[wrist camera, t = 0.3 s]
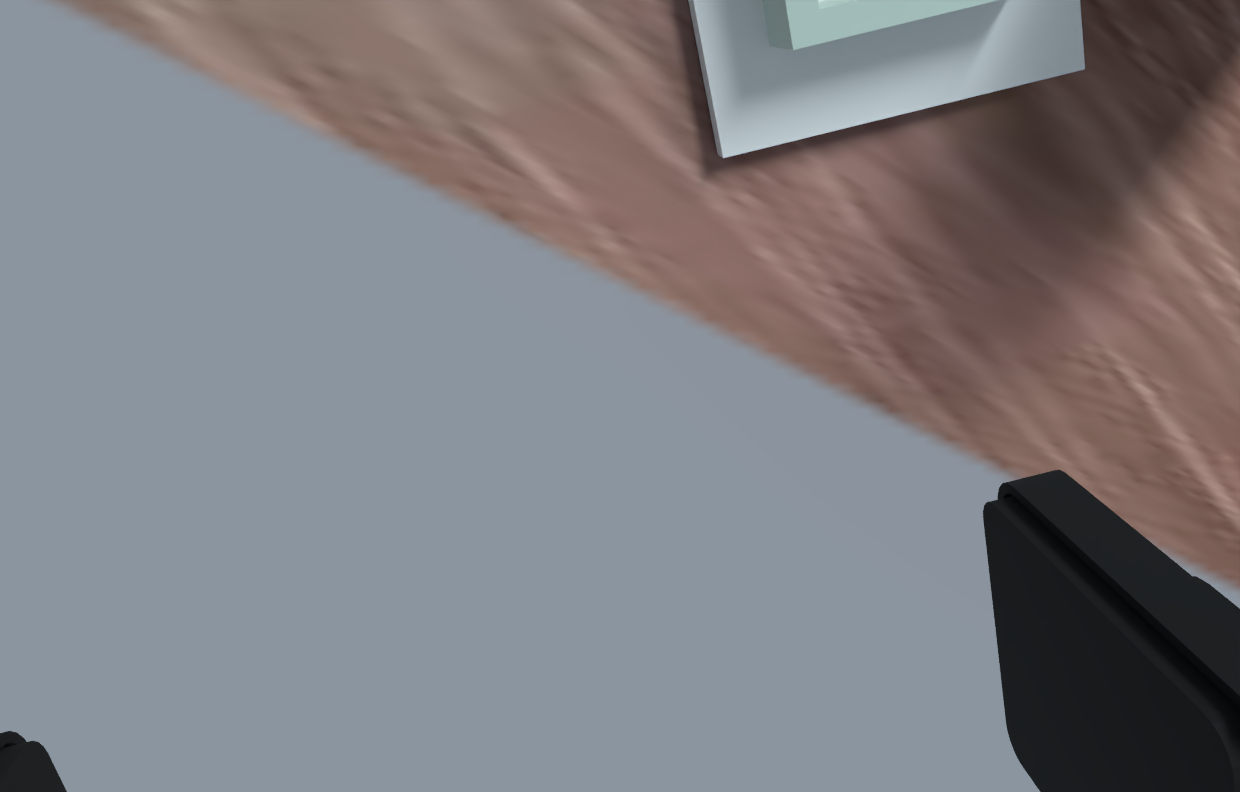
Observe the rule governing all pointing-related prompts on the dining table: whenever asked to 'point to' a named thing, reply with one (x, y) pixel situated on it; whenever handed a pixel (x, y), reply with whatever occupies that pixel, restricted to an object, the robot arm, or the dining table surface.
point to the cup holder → (867, 59)
